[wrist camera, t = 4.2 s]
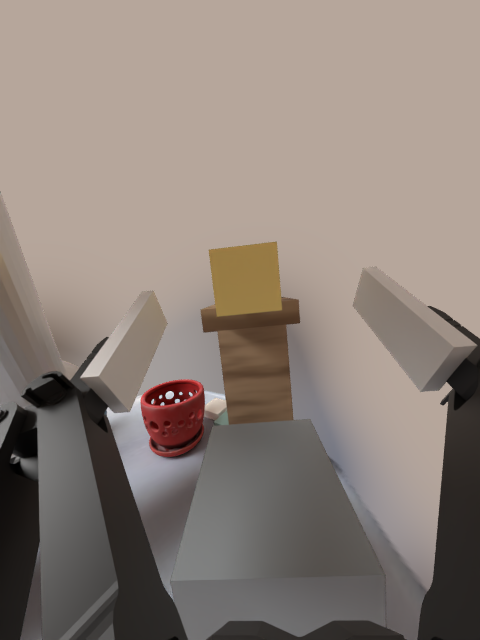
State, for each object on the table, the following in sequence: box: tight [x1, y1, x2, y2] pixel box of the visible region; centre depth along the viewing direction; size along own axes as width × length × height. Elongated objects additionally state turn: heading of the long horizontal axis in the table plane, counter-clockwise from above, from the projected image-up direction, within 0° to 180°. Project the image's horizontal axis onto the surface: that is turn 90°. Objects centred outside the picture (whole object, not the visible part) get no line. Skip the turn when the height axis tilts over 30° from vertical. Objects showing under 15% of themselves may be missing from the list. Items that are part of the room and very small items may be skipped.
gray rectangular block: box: [170, 419, 386, 640], centre depth 16 cm, size 12×10×18 cm
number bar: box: [209, 242, 282, 317], centre depth 23 cm, size 22×4×4 cm, turn 178°
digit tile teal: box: [214, 410, 229, 426], centre depth 49 cm, size 6×6×2 cm
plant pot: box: [141, 380, 205, 457], centre depth 45 cm, size 13×13×12 cm
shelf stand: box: [201, 297, 300, 425], centre depth 31 cm, size 17×10×30 cm, turn 178°
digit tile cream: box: [204, 398, 227, 420], centre depth 55 cm, size 6×6×2 cm
